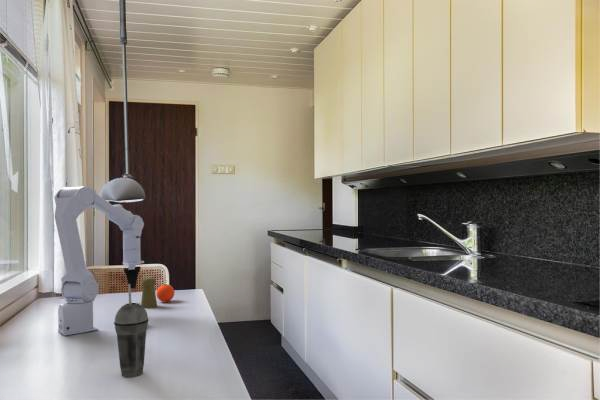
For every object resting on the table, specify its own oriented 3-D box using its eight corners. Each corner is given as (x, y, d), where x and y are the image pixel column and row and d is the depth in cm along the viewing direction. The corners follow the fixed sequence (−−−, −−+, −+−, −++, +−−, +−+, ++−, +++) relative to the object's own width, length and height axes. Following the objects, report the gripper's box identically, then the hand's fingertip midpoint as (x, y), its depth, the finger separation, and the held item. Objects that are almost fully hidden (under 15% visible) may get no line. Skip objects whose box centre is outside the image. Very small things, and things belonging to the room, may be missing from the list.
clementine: (156, 300, 192) (156, 282, 192) (174, 299, 194) (173, 281, 194) (156, 304, 184) (156, 285, 184) (175, 302, 186) (174, 284, 186)
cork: (159, 305, 182) (159, 276, 182) (153, 308, 176) (152, 278, 176) (144, 305, 183) (144, 276, 183) (137, 308, 177) (137, 278, 177)
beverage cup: (153, 367, 108) (152, 280, 109) (144, 379, 101) (142, 285, 101) (121, 368, 108) (120, 281, 108) (109, 380, 101) (108, 286, 101)
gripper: (143, 250, 160) (144, 290, 160) (143, 247, 174) (144, 284, 173) (121, 251, 158) (122, 291, 157) (123, 248, 172) (123, 285, 171)
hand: (132, 288), depth 165 cm, fingers closed
